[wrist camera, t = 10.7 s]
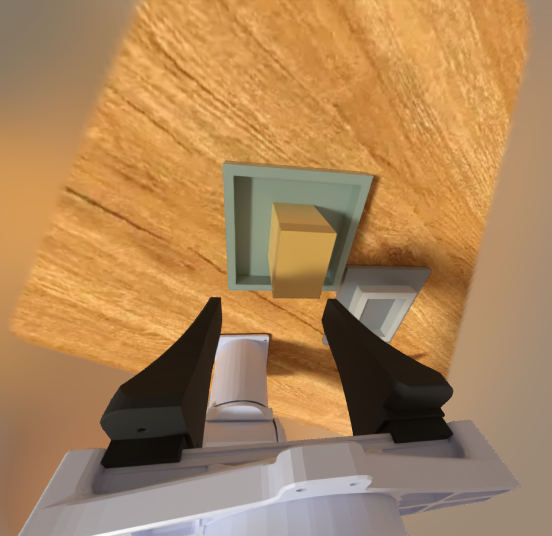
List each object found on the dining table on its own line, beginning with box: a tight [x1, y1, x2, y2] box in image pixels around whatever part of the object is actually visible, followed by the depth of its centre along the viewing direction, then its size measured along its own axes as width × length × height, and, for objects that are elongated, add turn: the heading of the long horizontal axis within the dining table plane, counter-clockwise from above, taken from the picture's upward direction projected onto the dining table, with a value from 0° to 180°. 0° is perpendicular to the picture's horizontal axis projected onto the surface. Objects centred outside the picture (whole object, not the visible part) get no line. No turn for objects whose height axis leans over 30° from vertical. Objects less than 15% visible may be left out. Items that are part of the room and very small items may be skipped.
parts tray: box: [223, 161, 373, 291], centre depth 21 cm, size 13×13×2 cm
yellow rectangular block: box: [268, 202, 337, 299], centre depth 19 cm, size 6×4×7 cm, turn 175°
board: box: [322, 265, 432, 345], centre depth 29 cm, size 14×11×2 cm
